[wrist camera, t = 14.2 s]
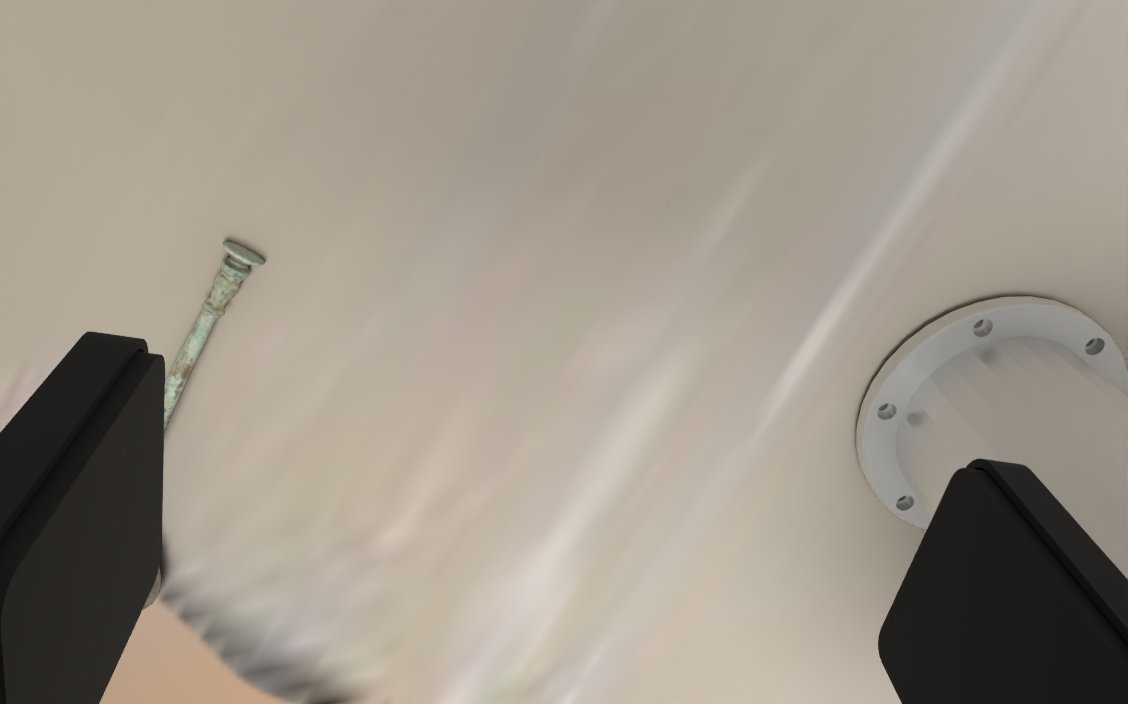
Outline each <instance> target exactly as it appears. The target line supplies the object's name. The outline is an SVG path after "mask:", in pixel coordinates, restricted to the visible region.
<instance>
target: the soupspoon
mask: <svg viewBox="0 0 1128 704" xmlns="http://www.w3.org/2000/svg"><path fill="white" fill-rule="evenodd" d="M223 246H224V248H225V250H226V251H227V252H228V253H229V254H230V258H225V259H223V260H222V263H221V272H220V273H218V275H217V277H216V279H215V281H214V283H213V285H212V288H211V290H212V294H211V297H210V298H209V299H207V300H205V301H204V302H203V304H202V306H203V311H202V313H201V315H200V316H199V318H198V320H197V322H196V324H195V326H194V328H193V330H192V331H191V333H190V335H189V337H188V339H187V341H186V343H185V345H184V347H183V348H182V350H181V352H180V354H179V356H178V358H177V360H176V362H175V364H174V366H173V368H172V370H171V373H170V375H169V376H168V378H167V381H166V383H165V399H164V433H165V429H166V428H167V425H168V422H169V419H170V418H171V416H172V414H173V411H174V408H175V406H176V404H177V402H178V400H179V397H180V395H181V392H182V390H183V388H184V386H185V383H186V381H187V379H188V377H189V375H190V373H191V371H192V369H193V366H194V365H195V362H196V360H197V359H198V356H199V354H200V352H201V350H202V348H203V346H204V344H205V342H206V340H207V338H208V335H209V333H210V330H211V328H212V326H213V324H214V322H215V320H216V319H217V318H218V317H219V316H223V315H224V314H225V310H224V306H225V304H226V303H227V302H228V301H229V300H230V299H231V298H233V297H234V296H235V294H236V293H237V291H238V289H239V287H240V281H242V280H243V279H245V278H246V277H248V276H249V274H250V272H249V269H248V266H249V265H254V266H260V265H263V264H265V261H264V260H263V259H262V258H261V257H259V256H258V255H256V254H255V253H253V252H251V251H249V250H247V249H246V248H244V247H242V246H240V245H238V244H235V243H233V242H227V241H224V242H223ZM160 587H161V575H160V568H159V570H158V574H157V577H156V580H155V583H154V585H153V587H152V590H151V592H150V594H149V596H148V598H147V601H146V603H145V605H144V607H143V609H145V608H147V607H148V606H150V605H151V604H152V603H153V602H154V601H155V599H156V598H157V596H158V594H159V591H160ZM143 609H142V610H143Z"/></svg>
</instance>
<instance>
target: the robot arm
mask: <svg viewBox="0 0 1128 704" xmlns="http://www.w3.org/2000/svg"><path fill="white" fill-rule="evenodd" d="M164 399H165V362H164V357H163V356H162V355H158V354H151V353H148V347H147V343H146V341H145V340H144V339H139V338H132V337H125V336H118V335H111V334H104V333H97V332H86V333H85V334H84V335H83V336H82V337H81V338H80V339H79V341H78V342H77V343H76V344H75V345H74V346H73V348H72V349H71V350H70V351H69V352H68V354H67V355H66V356H65V357H64V358H63V359H62V361H61V362H60V363H59V364H58V365H57V366H56V368H55V369H54V370H53V371H52V372H51V374H50V375H49V376H48V377H47V378H46V379H45V381H44V382H43V383H42V384H41V385H40V387H39V388H38V389H37V390H36V391H35V392H34V394H33V395H32V396H31V397H30V398H29V399H28V401H27V402H26V403H25V404H24V405H23V407H22V408H21V409H20V410H19V411H18V412H17V414H16V415H15V416H14V417H13V418H12V420H11V421H10V422H9V423H8V424H7V425H6V427H5V428H4V429H3V430H2V431H1V432H0V704H99V702H100V700H101V698H102V696H103V694H104V692H105V689H106V687H107V685H108V683H109V681H110V679H111V676H112V674H113V672H114V670H115V668H116V666H117V663H118V661H119V659H120V657H121V655H122V653H123V650H124V648H125V646H126V644H127V642H128V640H129V637H130V635H131V633H132V631H133V629H134V626H135V624H136V622H137V620H138V618H139V616H140V614H141V611H142V609H143V607H144V605H145V603H146V601H147V598H148V596H149V594H150V592H151V590H152V587H153V585H154V583H155V580H156V577H157V574H158V570H159V565H160V560H161V550H162V504H163V452H164ZM856 449H857V453H858V458H859V462H860V467H861V469H862V471H863V473H864V475H865V477H866V479H867V481H868V483H869V485H870V487H871V488H872V489H873V491H874V492H875V494H876V495H877V497H878V498H879V500H880V501H881V503H882V504H883V505H885V506H886V507H887V508H888V509H889V510H890V511H891V512H892V513H893V514H894V515H896V516H897V517H899V518H901V519H903V520H905V521H906V522H908V523H910V524H912V525H914V526H917V527H920V528H923V529H926V530H927V531H926V533H925V535H924V537H923V539H922V541H921V544H920V546H919V548H918V550H917V552H916V554H915V557H914V559H913V561H912V563H911V565H910V567H909V569H908V572H907V574H906V576H905V578H904V580H903V582H902V585H901V587H900V589H899V591H898V593H897V595H896V598H895V600H894V602H893V604H892V606H891V608H890V610H889V613H888V615H887V617H886V619H885V621H884V623H883V626H882V628H881V631H880V634H879V640H878V649H879V655H880V658H881V661H882V664H883V666H884V668H885V670H886V672H887V674H888V676H889V678H890V680H891V682H892V684H893V686H894V688H895V690H896V692H897V694H898V696H899V698H900V700H901V703H902V704H1128V369H1127V366H1126V362H1125V359H1124V356H1123V354H1122V352H1121V351H1120V349H1119V347H1118V346H1117V344H1116V343H1115V341H1114V339H1113V338H1112V337H1111V336H1110V335H1109V334H1108V333H1107V332H1106V331H1105V330H1104V329H1103V328H1102V327H1100V326H1099V325H1098V324H1097V323H1096V322H1095V321H1093V320H1092V319H1090V318H1089V317H1087V316H1086V315H1085V314H1083V313H1082V312H1080V311H1079V310H1077V309H1075V308H1073V307H1070V306H1068V305H1065V304H1063V303H1060V302H1058V301H1055V300H1050V299H1044V298H1038V297H1032V296H1022V297H1001V298H996V299H991V300H986V301H981V302H977V303H974V304H971V305H969V306H966V307H963V308H960V309H958V310H955V311H952V312H950V313H948V314H947V315H945V316H943V317H941V318H939V319H937V320H936V321H934V322H932V323H930V324H928V325H927V326H925V327H924V328H923V329H921V330H920V331H919V332H917V333H916V334H915V335H914V336H912V337H911V338H910V339H908V340H907V341H906V342H905V343H904V344H903V345H902V346H901V347H900V348H899V349H898V350H897V351H896V352H895V353H894V354H893V355H892V356H891V357H890V358H889V359H888V360H887V361H886V363H885V364H884V366H883V367H882V368H881V370H880V371H879V373H878V374H877V376H876V377H875V379H874V380H873V382H872V383H871V385H870V388H869V390H868V392H867V394H866V396H865V399H864V401H863V403H862V406H861V410H860V414H859V419H858V423H857V432H856Z"/></svg>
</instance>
